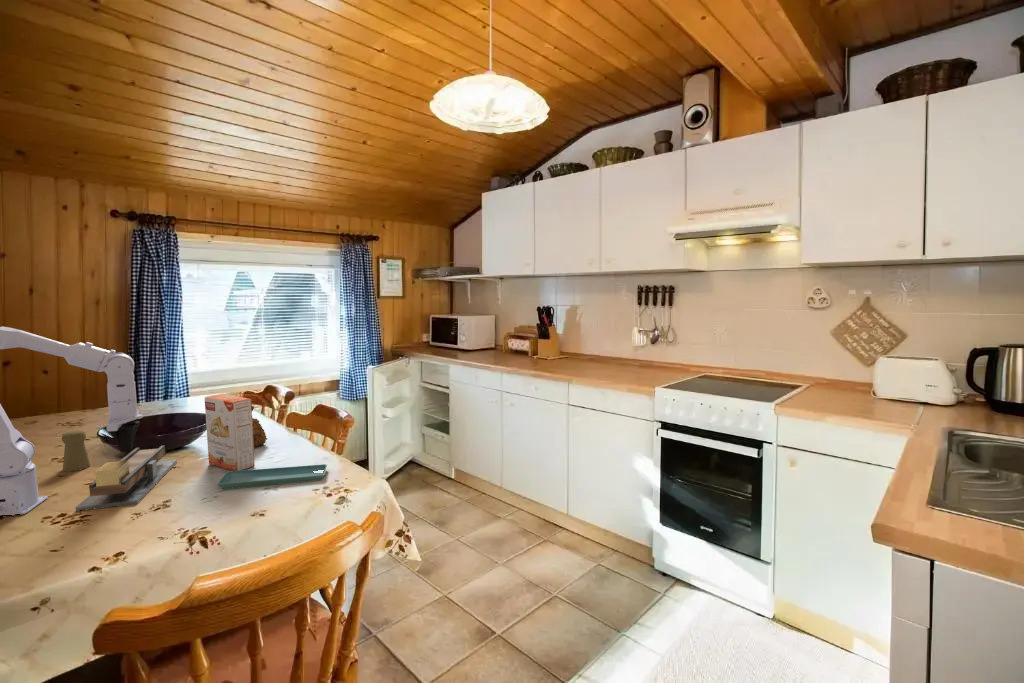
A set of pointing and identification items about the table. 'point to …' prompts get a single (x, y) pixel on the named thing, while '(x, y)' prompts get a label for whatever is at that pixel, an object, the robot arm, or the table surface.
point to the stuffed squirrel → (258, 433)
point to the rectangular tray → (271, 476)
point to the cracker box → (229, 432)
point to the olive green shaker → (75, 451)
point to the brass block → (112, 473)
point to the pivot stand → (135, 492)
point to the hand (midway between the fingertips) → (126, 450)
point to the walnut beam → (130, 471)
